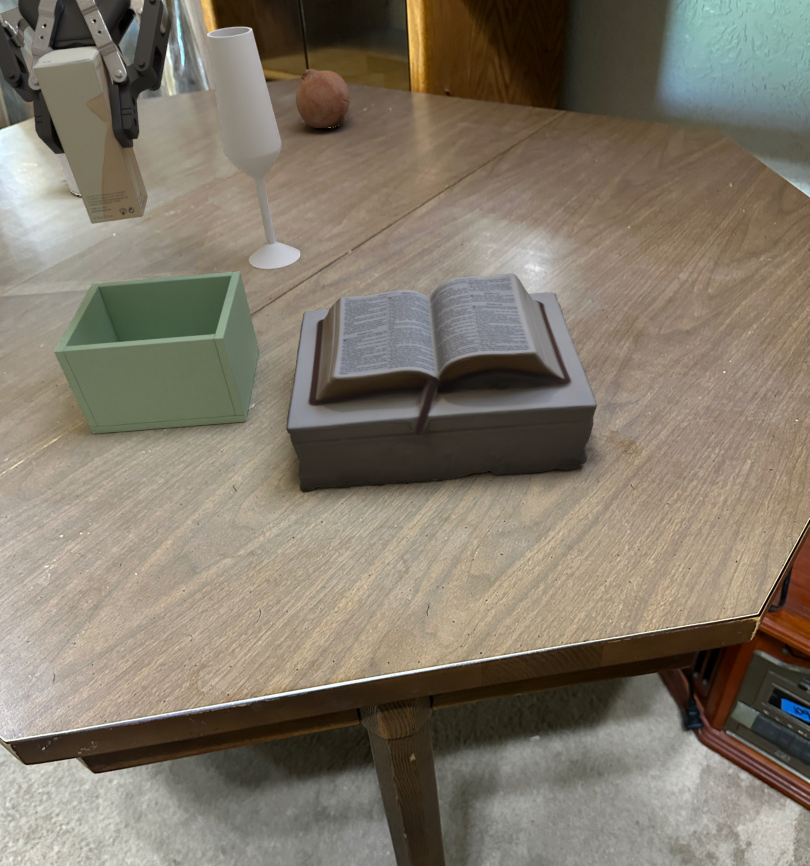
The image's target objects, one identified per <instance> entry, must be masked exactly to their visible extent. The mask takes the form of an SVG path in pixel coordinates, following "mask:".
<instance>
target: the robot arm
mask: <svg viewBox="0 0 810 866" xmlns="http://www.w3.org/2000/svg"><path fill="white" fill-rule="evenodd" d="M134 19H135V22H136V24H137V26H138V27H139V29H138V35H137V40H136V45H135V52H134V57H133V63H131V64H129V63H128V60H127V59H126V57H125V54H124V52H123V49H122V47H121V45H120V44H121V42H122V40H123V38H124V37H125V35H126V34H127V31H128V30H129V28H130V26H131V25H132V23H133V21H134ZM172 22H173V21H172V18H171V16H170V13H169V12H168V9H167V7H166V6H165V3H164V1H163V0H17V6H16V7H14V8H11V9H9V10H5V11H3V12H1V13H0V70H1V74H2V76H3V79H4V80H5V81H6V83H7V84H8V85H9V86H10V87H11V88H12V89H13V90H14V92H15V93H16V94H17V95H18V96H19V97H20V98H21V99H22V100H23V101H24V102H26V103H32V108H33V119H34V130H35V133H36V135H37V136H38V138H39V139H40V140H41V141H42V142H43V143H44V144H45V146H47V147H48V148H49V149H50V150H51V152H53V153H54V154H55V155H56V154H64V153H65V152H64V149H63V147H62V144H61V142H60V139H59V136H58V134H57V131H56V128H55V126H54V123H53V120H52V118H51V115H50V112H49V110H48V107H47V104H46V102H45V99H44V96H43V94H42V91H41V88H40V85H39V83H38V80H37V78H36V75H35V72H34V69H33V67H34V66H35V64H36V63H37V62H38V60H39V59H40V58H41V57H42V56H44V55H45V54H48V53H50V52H52V51H54V50H63V49H71V48H80V47H89V46H97V48H98V50H99V52H100V54H101V55H102V57H103V60H104V62H105V64H106V66H107V69H108V71H109V74H110V77H111V80H112V84H113V85H109V93H110V104H111V116H112V127H113V133H114V136H115V138H116V140H117V141H118V142H119V143H120V145H121V146H122V147H123V148H132V147H133V148H134V140H138V139H139V136H140V125H139V124H140V123H139V111H138V98H139V96H140V94H142V93H143V92H145V91H147V90H148V91H151V92H156V91H159V90H160V88H161V86H162V81H163V76H164V75H163V74H164V69H165V64H166V63H165V62H166V57H167V51H168V46H169V40H170V35H171V30H172V24H173V23H172ZM28 27H30V29H31V30H32V31H33V32H34V34H33V38H32V42H31V49H30V51H31V55H32V62H31V66H30V70H29V68H28V65H27V63H26V60H25V57H24V54H23V51H22V49H24V48H25V47H26V43H25V31H26V29H27V28H28Z"/></svg>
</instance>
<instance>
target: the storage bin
mask: <svg viewBox="0 0 810 866" xmlns="http://www.w3.org/2000/svg"><path fill="white" fill-rule="evenodd" d="M249 306H250V305H249V301H248V297H247V294H246V288H245V285H244V280H243V276H242V273H241V271H240V270H238V271H227V272H217V273H216V272H215V273H203V274H202V273H201V274H192V275H191V274H190V275H179V276H167V277H155V278H145V279H131V280H119V281H108V282H95V283H91V285H90V287H89V288H88V290H87V293H86V294H85V296H84V298H83V300H82V301H81V302H80V305H79V306H78V308H77V310H76V312H75V314H74V316H73V317H72V319H71V321H70V322H69V324H68V326H67V328H66V330H65V331H64V333H63V334H62V337H61V339H60V340H59V342H58V344H57V346H56V347H55V348H54V351H53V353H54V355H55V357H56V359H57V361H58V363H59V366H60V368H61V370H62V372H63V374H64V376H65V378H66V381H67V382H68V385H69V387H70V389H71V391H72V393H73V396H74V398H75V400H76V403H77V404H78V406H79V408H80V410H81V412H82V413H81V414H83V417H84V418H85V421H86V423H87V425H88V427H89V429H90V432H91V433H92V435H96V434H108V433H120V432H122V433H123V432H133V431H145V430H158V429H159V430H160V429H168V428H169V429H171V428H183V427H184V428H185V427H195V426H208V425H218V424H219V425H220V424H234V423H244V422H247V418H248V413H249V407H250V402H251V398H252V397H251V395H252V391H253V386H254V382H255V381H254V380H255V376H256V370H257V364H258V359H259V354H260V347H259V343H258V339H257V335H256V331H255V326H254V322H253V318H252V314H251V310H250V307H249Z"/></svg>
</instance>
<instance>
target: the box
mask: <svg viewBox="0 0 810 866" xmlns="http://www.w3.org/2000/svg"><path fill="white" fill-rule="evenodd" d="M33 69H34V72H35V75H36V78H37V80H38V83H39V85H40V88H41V91H42V94H43V96H44V99H45V102H46V104H47V107H48V110H49V112H50V115H51V118H52V120H53V123H54V126H55V128H56V131H57V134H58V136H59V139H60V142H61V144H62V147H63V149H64V152H65V155H66V157H67V160H68V163H69V165H70V168H71V171H72V173H73V176H74V178H75V181H76V184H77V186H78V189H79V192H80V194H81V196H80V197H81V199H82V202H83V205H84V208H85V209H86V212H87V216H88V218H89V221H90V223H91V224H101V223H108V222H114V221H121V220H128V219H135V218H136V219H137V218H142V217H144V213H145V210H146V207H147V201H148V197H149V195H148V192H147V188H146V185H145V182H144V179H143V176H142V172H141V169H140V167H139V164H138V160H137V157H136V153H135V150H134V146H133V147H132V148H123V147H122V146H121V145H120V143H119V142H118V141H117V140H116V138H115V136H114V133H113V127H112V116H111V104H110V93H109V85H113V80H112V78H111V76H110V73H109V71H108V69H107V66H106V64H105V62H104V60H103V57H102V55H101V54H100V52H99V50H98V48H97V46H89V47H80V48H71V49H63V50H54V51H52V52H50V53H48V54H45V55H44V56H42V57H41V58H40V59H39V60H38V62H37V63H36V64H35V66H34V67H33Z"/></svg>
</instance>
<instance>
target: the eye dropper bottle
mask: <svg viewBox="0 0 810 866" xmlns="http://www.w3.org/2000/svg"><path fill="white" fill-rule="evenodd" d="M55 155H56V158H57V161H58V162H59V166H60V168H61V171H62V173H63V176H64V178H65V182H66V184H67V186H68V189H69V191H70V190H71V191H72V192H74V193H77V194H80V192H79V189H78V186H77V184H76V181H75V178H74V176H73V173H72V171H71V168H70V165H69V163H68V160H67V157H66V155H65V153H64V154H55ZM71 191H70V192H71Z"/></svg>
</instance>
